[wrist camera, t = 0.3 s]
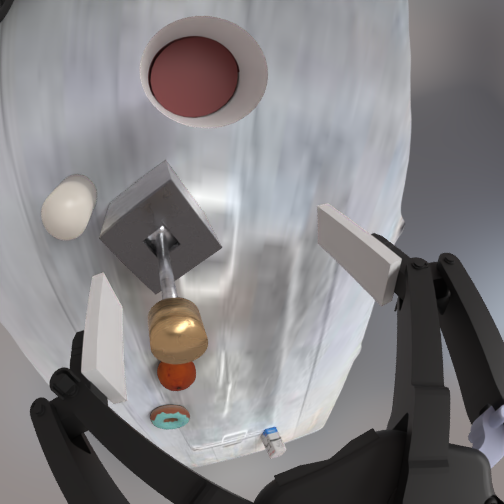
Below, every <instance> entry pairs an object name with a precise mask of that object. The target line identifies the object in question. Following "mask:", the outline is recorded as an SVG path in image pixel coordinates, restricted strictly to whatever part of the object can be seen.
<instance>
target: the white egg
mask: <svg viewBox="0 0 504 504" xmlns="http://www.w3.org/2000/svg"><path fill="white" fill-rule="evenodd" d="M96 202H97V190H96V187H95V185H94V183H93V182H92V181H91V180H90V179H89V178H87V177H86V176H84V175H79V174H75V175H70V176H68V177H67V178H65V179H64V180H63V181H62V182H61V183H60V184H59V185H58V186H57V187H56V188H55V190H54V191H53V192H52V193H51V194H50V195H49V196H48V197H47V199H46V200H45V202H44V204H43V206H42V211H41V217H42V222H43V224H44V227H45V228H46V230H47V231H48V232H49V233H50V234H51V235H52V236H54V237H55V238H57V239H60V240H72V239H75V238H77V237H78V236H80V235H81V234H82V233H83V232H84V230H85V228H86V226H87V224H88V221H89V219H90V217H91V214H92V212H93V210H94V207H95V205H96Z"/></svg>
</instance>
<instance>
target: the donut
mask: <svg viewBox="0 0 504 504" xmlns="http://www.w3.org/2000/svg"><path fill="white" fill-rule="evenodd" d="M150 419H151V422H152V423H153V425H154V426H156V427H158V428H162V429H176V428H180V427H182V426H184V425H185V424H187V423H188V421H189V419H190V414H189V412H188V411H187V410H186V409H185V408H184V407H182V406H178V405H165V406H161V407H158V408H156V409H155V410H153V411H152V413H151V416H150Z"/></svg>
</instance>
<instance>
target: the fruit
mask: <svg viewBox="0 0 504 504" xmlns="http://www.w3.org/2000/svg"><path fill="white" fill-rule="evenodd" d="M157 375H158V378H159V380H160V382H161V384H162V385H163V386H164V387H165V388H166V389H169V390H171V391H180V390H184V389H186V388H188V387H189V386H190V385H191V384H192V383H193V382H194V380H195V378H196V369H195V365H194V363H193V362H192V361H191V362H189V363H185V364H168V363H164V362H162V361H161V363H160V364H159V366H158V370H157Z"/></svg>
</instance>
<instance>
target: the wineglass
mask: <svg viewBox="0 0 504 504" xmlns="http://www.w3.org/2000/svg"><path fill="white" fill-rule="evenodd" d="M140 79H141V83H142V86H143V89H144V91H145V93H146V95H147V97H148V99H149V100H150V101H151V103H152V104H153V105H154V106H155V107H156V108H157V109H158V110H159V111H160V112H161V113H162V114H164V115H165V116H167V117H168V118H170V119H172V120H174V121H176V122H178V123H181V124H184V125H186V126H191V127H196V128H217V127H222V126H226V125H229V124H232V123H235V122H237V121H238V120H240V119H242V118H244V117H245V116H246V115H248V114H249V113H250V112H251V111H252V110H253V109H254V108H255V107H256V106H257V105H258V103H259V102H260V100H261V99H262V97H263V95H264V92H265V89H266V86H267V80H268V68H267V63H266V59H265V56H264V54H263V52H262V50H261V48H260V46H259V45H258V43H257V42H256V41H255V40H254V38H253V37H252V36H251V35H250V34H249V33H247V32H246V31H245V30H244V29H242V28H241V27H239V26H238V25H236V24H234V23H232V22H229V21H227V20H224V19H221V18H217V17H210V16H194V17H187V18H184V19H180V20H177V21H175V22H173V23H171V24H169V25H167V26H165V27H164V28H162V29H161V30H160V31H159V32H158V33H156V34H155V35H154V36H153V37H152V39H151V40H150V41H149V43H148V44H147V46H146V48H145V50H144V52H143V55H142V58H141V62H140Z"/></svg>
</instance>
